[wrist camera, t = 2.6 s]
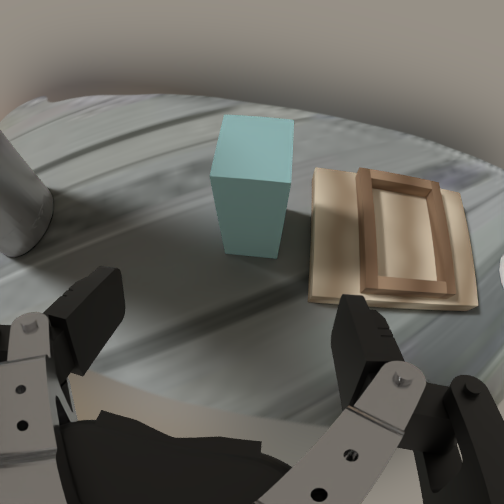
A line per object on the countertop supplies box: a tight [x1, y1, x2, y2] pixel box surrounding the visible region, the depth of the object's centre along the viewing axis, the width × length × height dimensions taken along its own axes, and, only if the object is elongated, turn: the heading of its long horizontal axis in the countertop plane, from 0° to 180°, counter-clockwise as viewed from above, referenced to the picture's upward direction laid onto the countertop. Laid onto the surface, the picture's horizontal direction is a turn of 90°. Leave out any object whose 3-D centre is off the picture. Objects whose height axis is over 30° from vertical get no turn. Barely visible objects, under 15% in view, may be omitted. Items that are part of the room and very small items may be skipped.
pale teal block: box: [210, 115, 294, 259], centre depth 23 cm, size 4×5×11 cm
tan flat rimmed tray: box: [308, 168, 478, 311], centre depth 26 cm, size 16×12×4 cm
